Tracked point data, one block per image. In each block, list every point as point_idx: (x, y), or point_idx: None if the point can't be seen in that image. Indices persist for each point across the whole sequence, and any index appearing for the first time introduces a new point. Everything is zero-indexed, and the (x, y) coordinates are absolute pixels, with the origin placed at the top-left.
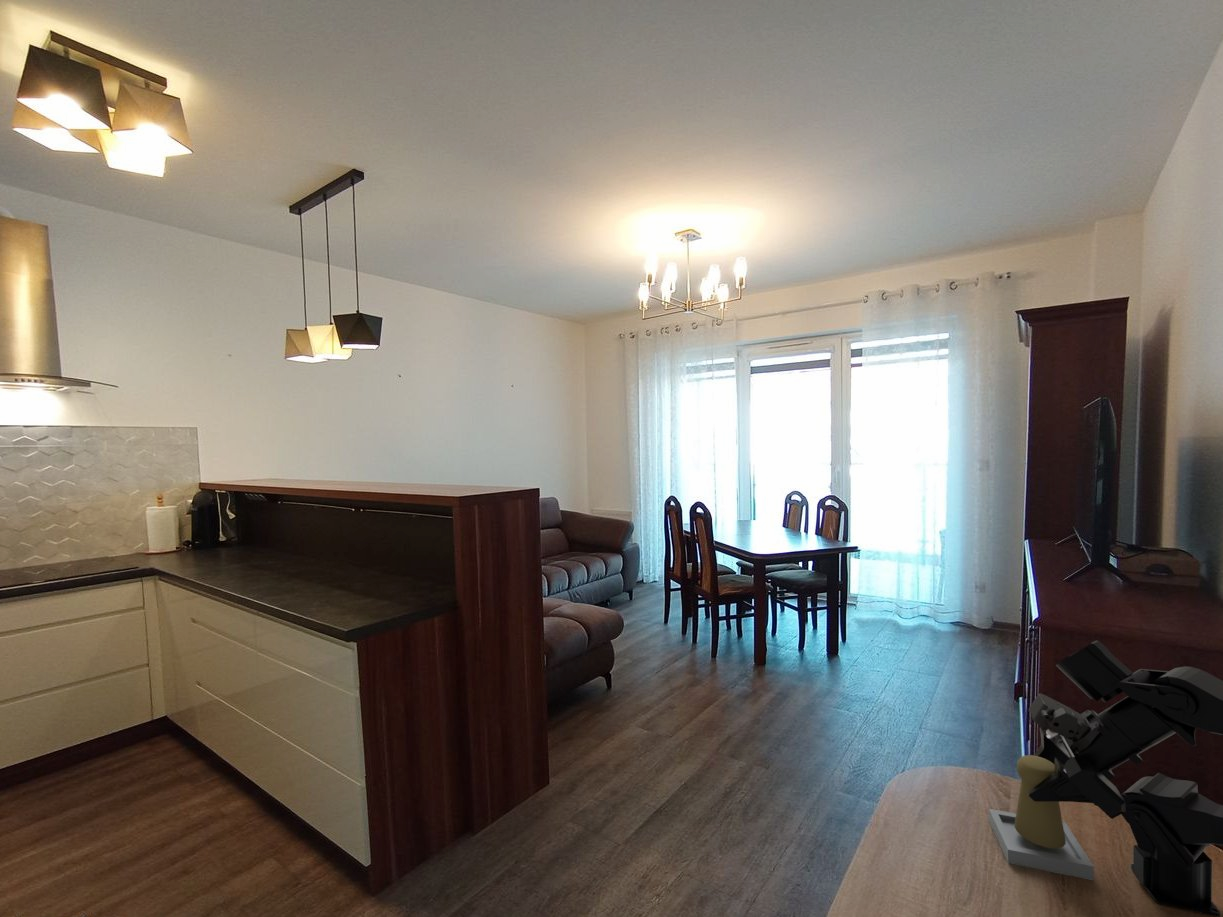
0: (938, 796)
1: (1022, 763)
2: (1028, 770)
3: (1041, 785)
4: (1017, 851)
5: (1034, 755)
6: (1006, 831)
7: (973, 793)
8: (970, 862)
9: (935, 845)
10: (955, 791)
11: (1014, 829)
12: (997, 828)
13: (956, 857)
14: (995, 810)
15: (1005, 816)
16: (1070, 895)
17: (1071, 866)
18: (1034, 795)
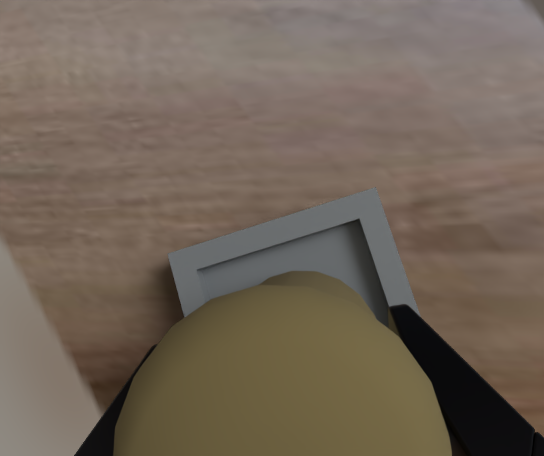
0: (415, 41)
1: (195, 335)
2: (136, 379)
3: (85, 450)
4: (176, 280)
5: (530, 444)
6: (265, 247)
7: (519, 138)
8: (128, 166)
9: (147, 77)
10: (488, 83)
11: (325, 270)
12: (275, 220)
13: (128, 132)
14: (377, 208)
15: (367, 241)
16: None
17: None
18: None
